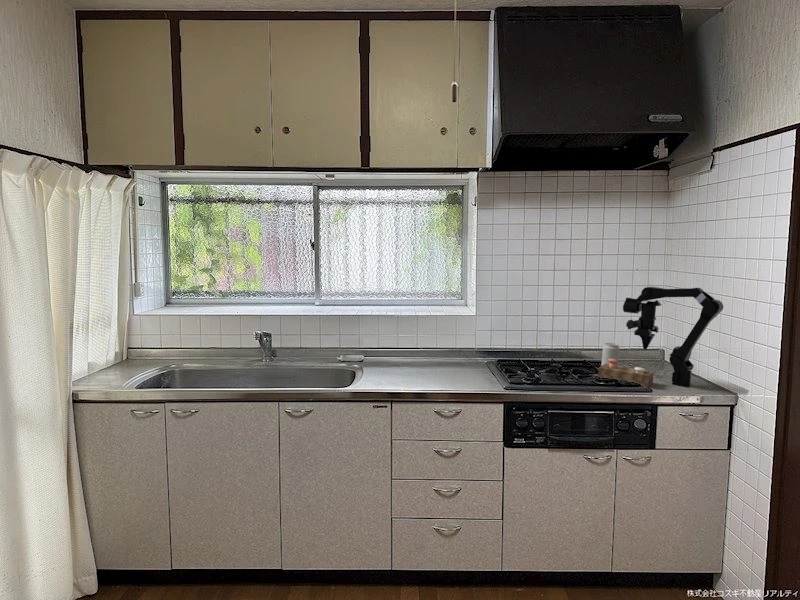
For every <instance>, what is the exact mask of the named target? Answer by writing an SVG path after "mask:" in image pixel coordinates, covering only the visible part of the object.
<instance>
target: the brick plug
mask: <svg viewBox="0 0 800 600" xmlns="http://www.w3.org/2000/svg"><path fill="white" fill-rule="evenodd" d="M619 360H620V359H619ZM619 360H617V359H608V361H609V368H613V369H617V363H618V362H620V361H619Z"/></svg>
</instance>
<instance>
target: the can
mask: <svg viewBox="0 0 800 600" xmlns="http://www.w3.org/2000/svg"><path fill="white" fill-rule="evenodd" d="M620 349H621V348H620V346H619V344H617V343H614V342H605V343H604V345H603V346H602V354H601V363H600V367H601V366H603V365H604V364H609V361H608V359H617V360H620ZM619 362H620V361H619ZM619 362H618V363H617V366H619V365H620V364H619Z"/></svg>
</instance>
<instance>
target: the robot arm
mask: <svg viewBox="0 0 800 600" xmlns="http://www.w3.org/2000/svg"><path fill="white" fill-rule="evenodd" d="M663 298H694V299H695V300H696V301H697V303H698V304H699V305H700V306H701V307H702V308H701V311H700V315H699V318H698V320H697V321H696V323H695V324H694V326H693V328H692V329H691V331H690V332H689V333H688V335H687V336H686V338H685V340H684V341H683V343H682V345H678V346H676V347H674V348H673V349H672V352H671V353H670V354H669V355H668V356H669V360H668V361H669V363H670V365H672V368H673V372H672V373H671V384H672V385H676V386H680V387H687V388H690V387H691V385H692V383H691V382H692V374H693V372H692V370H693V369H694V364H693V363H692V362H691V360H689V359H690V357H691V355H692V352H693V351H692V350H693V349H694V347H695V346H696V344H697V343H698V341H699V340H700V338H701V336H702V335H703V333H704V332H705V331H706V329H707V327H708V326H709V324H710V323H711V322H712V321H713V320H714V319H715V318H716V317H717V316H719V314H721V312H722V311H723V310H724V304H723V302H722V301H721V300H720V299H719V300H718V299H715V298H714V297H713V296H711V295H710V294H708V293H707V292H705V290H703V289H702V288H700V287H692V288H691V287H690V288H688V287H687V288H686V287H685V288H663V287H658V286H646V287H644V288H642V290H641V293H640V295H638V297H636V298H632V297H625V301H624V303H623V305H622V310H623V312H624V313H628V314H637V315H638V314H639V313H640V312H641V313H640V316H639V317H638V319H637V320H633V319H629V320H627V322H626V323H625V324H626V325H625V327H627V330H631V329H634V332H633V333H634V336H638V337H640V338H641V344H642V348H643V350H647V349H648V348H649V347H650V344H651V342H652V341H653V339H654V338H655V336H656V334H657V333H659V326H658V325H655V323H656V322H655V321H656V320H657V317H656V310H657V307H659V306H662V303H661V302H659V300H658V299H663ZM653 300H654V301H653ZM635 328H636V329H635ZM654 332H655V333H656V334H655V333H654ZM689 386H690V387H689Z"/></svg>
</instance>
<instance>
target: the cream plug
mask: <svg viewBox="0 0 800 600" xmlns="http://www.w3.org/2000/svg"><path fill="white" fill-rule="evenodd" d="M634 370H636V372H637V373H643V374H644V371H645V370H646V368H644V367H640V366H638V367H637V366H635V367H634Z"/></svg>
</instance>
